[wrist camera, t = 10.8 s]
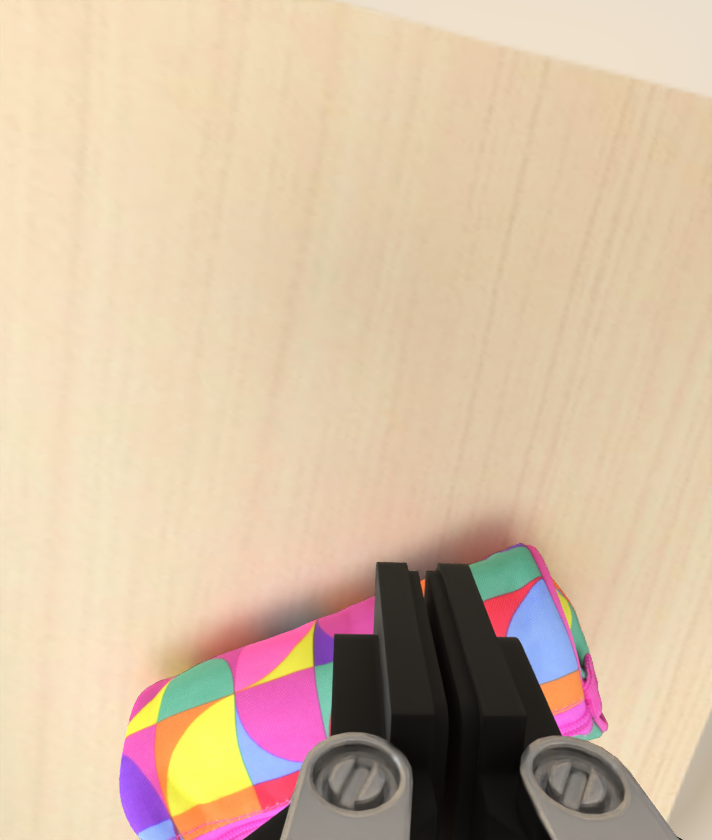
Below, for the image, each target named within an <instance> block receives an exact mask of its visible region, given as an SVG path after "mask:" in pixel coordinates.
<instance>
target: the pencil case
mask: <svg viewBox="0 0 712 840" xmlns="http://www.w3.org/2000/svg"><path fill="white" fill-rule="evenodd" d="M469 567H470V569H471V572H472V574H473V577H474V580H475V582H476V585H477V587H478V590H479V592H480V595H481V598H482V600H483V603H484V605H485V608H486V611H487V613H488V616H489V618H490V621H491V624H492V626H493V629H494V631H495V634H496V637H516V638H518V639H519V640H520V642H521V644H522V646H523V648H524V651H525V653H526V655H527V657H528V660H529V662H530V664H531V666H532V669H533V671H534V673H535V675H536V678H537V680H538V682H539V684H540V687H541V689H542V691H543V693H544V696H545V698H546V700H547V702H548V705H549V707H550V709H551V712H552V714H553V716H554V718H555V721H556V723H557V725H558V727H559V730H560V732H561V734H562V736H571V737H575V738H579V739H583V740H586V741H588V740H592V739H595V738H599V737H600V736H601V735H602V733H603V732H605V731H607V729H608V723H607V721H606V719H605V717H604V715H603V713H602V702H601V698H600V695H599V692H598V681H597V678H596V675H595V671H594V666H593V662H592V659H591V655H590V653H589V650H588V646H587V643H586V640H585V637H584V635H583V632H582V630H581V627H580V624H579V621H578V618H577V615H576V612H575V610H574V608H573V606H572V604H571V603H570V601H569V600H568V598H567V597H566V595H565V594H564V593H563V592H562V590H561V589H560V588H559V586H558V585H557V584H556V583H555V581H554V580H553V579H552V578H551V576H550V573H549V571H548V568H547V566H546V564H545V562H544V560H543V558H542V556H541V555H540V553H539V552H538V550H537V549H536V548H535V547H533V546H531V545H524V544H522V543H519V544H516V545H514V546H511V547H509V548H508V549H506V550H504V551H500V552H497V553H494V554H492V555H491V556H489V557H487V558H486V559H484V560H482V561H479V562H476V563H473V564H470V565H469ZM420 582H421V586H422V591H423V596H424V589H425V579H424V580H421V581H420ZM374 603H375V596H373V597H371V598H368V599H366V600H364V601H362V602H359V603H356V604H353V605H351V606H349V607H347V608H345V609H343V610H341V611H339V612H337V613H334V614H331V615H328V616H325V617H322V618H318V619H315V620H313V621H311V622H309V623H306V624H304V625H302V626H300V627H298V628H296V629H293V630H290V631H287V632H284V633H281V634H279V635H276V636H274V637H271V638H269V639H265V640H262V641H259V642H255V643H252V644H249V645H246V646H243V647H241V648H238V649H235V650H232V651H229V652H226V653H223V654H221V655H218V656H216V657H213V658H211V659H208V660H206V661H204V662H202V663H200V664H198V665H196V666H194V667H192V668H190V669H189V670H187V671H185V672H183V673H182V674H180V675H178V676H175V677H172V678H168V679H164V680H161V681H158V682H157V683H155V684H153V685H151V686H150V687H148V688H146V689H145V690H144V691H143V692H142V693H141V694H140V695H139V696H138V698H137V700H136V702H135V704H134V706H133V709H132V712H131V716H130V719H129V724H128V728H127V733H126V738H125V742H124V747H123V753H122V759H121V768H120V778H119V781H120V797H121V802H122V806H123V809H124V812H125V815H126V818H127V820H128V822H129V823H130V825H131V827H132V828H133V830H134V831H135V833H136V834H137V835H138V837H139V838H140V839H141V840H243V839H244V838H246V837H247V836H248V835H250V834H251V833H252V832H254V831H255V830H256V829H257V828H259V827H260V826H261V825H263V824H264V823H265V822H267V821H268V820H269V819H271V818H272V817H273V816H275V815H276V814H277V813H279V812H280V811H281V810H283V809H284V808H285V807H287V806H288V805H289V804H290V803H291V800H292V797H293V793H294V790H295V786H296V783H297V779H298V775H299V772H300V768H301V765H302V763H303V761H304V759H305V757H306V755H307V753H308V752H309V751H310V750H311V749H312V748H313V747H314V746H315V745H317V744H318V743H319V742H321V741H323V740H325V739H327V738H329V737H330V732H331V706H332V679H333V652H334V634H373V627H374Z"/></svg>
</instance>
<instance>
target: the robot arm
mask: <svg viewBox="0 0 712 840" xmlns="http://www.w3.org/2000/svg"><path fill="white" fill-rule="evenodd" d="M243 840H682V839H681V838H679V837H677V836H676V835H675V833H674V832H673V831H672V829H671V828H670V826H669V825H668V824H667V822H666V821H665V820H664V818H663V817H662V815H661V814H660V813H659V811H658V810H657V809H656V807H655V806H654V804H653V803H652V802H651V800H650V799H649V798H648V796H647V795H646V793H645V792H644V791H643V789H642V788H641V787H640V785H639V784H638V782H637V781H636V780H635V778H634V777H633V776H632V774H631V773H630V772H629V770H628V769H627V768H626V767H625V766H624V765H623V764H622V763H621V762H620V761H619V760H618V758H616V757H615V756H613V755H612V754H611V753H609V752H608V751H606V750H605V749H603V748H602V747H600V746H598V745H595V744H593V743H591V742H589V741H586V740H583V739H579V738H575V737H571V736H562V734H561V732H560V730H559V727H558V725H557V723H556V721H555V718H554V716H553V714H552V712H551V709H550V707H549V705H548V702H547V700H546V698H545V696H544V693H543V691H542V689H541V687H540V684H539V682H538V680H537V678H536V675H535V673H534V671H533V669H532V666H531V664H530V662H529V660H528V657H527V655H526V653H525V651H524V648H523V646H522V644H521V642H520V640H519V639H518V638H516V637H496V634H495V631H494V629H493V626H492V624H491V621H490V618H489V616H488V613H487V611H486V608H485V605H484V603H483V600H482V598H481V595H480V592H479V590H478V587H477V585H476V582H475V580H474V577H473V574H472V572H471V569H470V567H469V565H468V564H440V563H438V564H437V568H436V571H427V572H426V576H425V589H424V596H423V591H422V586H421V582H420V577H419V573H418V571H408V568H407V564H406V563H394V562H377V564H376V579H375V603H374V627H373V634H334V652H333V679H332V706H331V732H330V737H329V738H327V739H325V740H323V741H321V742H319V743H318V744H317V745H315V746H314V747H313V748H312V749H311V750H310V751H309V752H308V753H307V755H306V757H305V759H304V761H303V763H302V765H301V768H300V772H299V775H298V779H297V783H296V786H295V790H294V793H293V797H292V800H291V803H290V804H289V805H288V806H287V807H285V808H284V809H283V810H281V811H280V812H279V813H277V814H276V815H275V816H273V817H272V818H271V819H269V820H268V821H267V822H265V823H264V824H263V825H261V826H260V827H259V828H257V829H256V830H255V831H254V832H252V833H251V834H250V835H248V836H247V837H246V838H244V839H243Z"/></svg>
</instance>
